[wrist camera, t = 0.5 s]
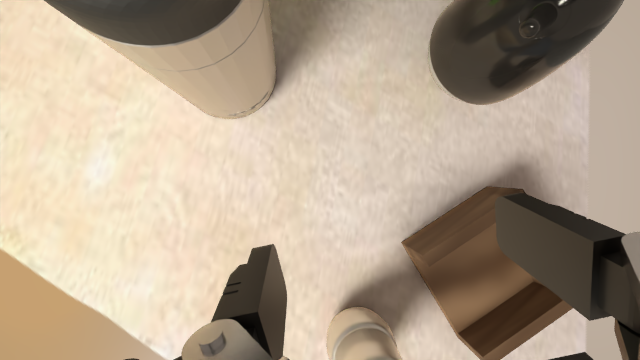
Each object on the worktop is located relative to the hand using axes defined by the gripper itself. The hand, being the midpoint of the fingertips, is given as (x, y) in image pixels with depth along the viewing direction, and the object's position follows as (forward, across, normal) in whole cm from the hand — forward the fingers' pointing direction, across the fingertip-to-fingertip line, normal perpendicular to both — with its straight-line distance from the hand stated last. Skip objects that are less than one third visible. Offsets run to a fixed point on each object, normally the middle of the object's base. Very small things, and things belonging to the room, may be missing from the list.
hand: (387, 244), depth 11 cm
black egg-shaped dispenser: (+24, -15, -6) cm, 28 cm away
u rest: (+18, -12, +15) cm, 27 cm away
